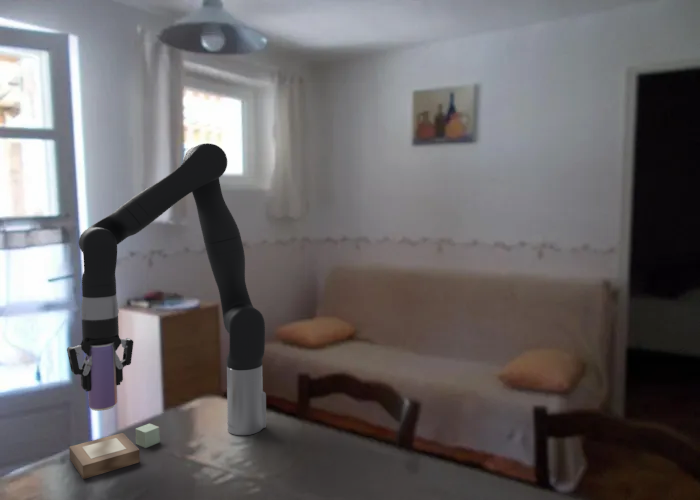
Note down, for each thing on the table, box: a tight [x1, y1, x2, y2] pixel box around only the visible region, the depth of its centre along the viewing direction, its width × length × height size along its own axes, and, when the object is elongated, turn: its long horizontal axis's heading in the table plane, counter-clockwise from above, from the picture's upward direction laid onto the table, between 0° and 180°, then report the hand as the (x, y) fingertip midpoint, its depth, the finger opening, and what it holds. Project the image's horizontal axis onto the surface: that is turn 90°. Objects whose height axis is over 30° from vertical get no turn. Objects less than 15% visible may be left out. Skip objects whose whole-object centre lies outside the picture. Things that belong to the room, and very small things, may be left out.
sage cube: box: [134, 423, 161, 449], centre depth 132 cm, size 4×4×4 cm
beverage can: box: [87, 342, 118, 412], centre depth 122 cm, size 6×6×15 cm
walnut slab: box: [68, 432, 141, 480], centre depth 123 cm, size 12×12×3 cm
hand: (102, 387), depth 122 cm, fingers closed on beverage can, 6 cm apart
